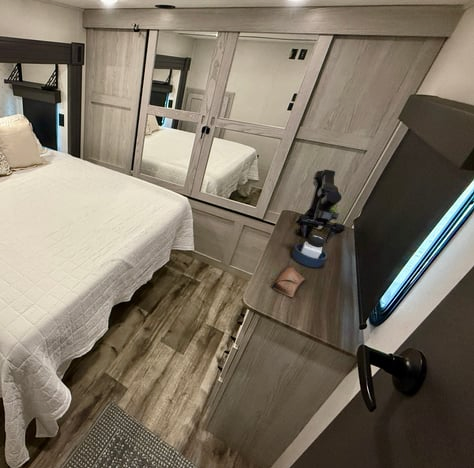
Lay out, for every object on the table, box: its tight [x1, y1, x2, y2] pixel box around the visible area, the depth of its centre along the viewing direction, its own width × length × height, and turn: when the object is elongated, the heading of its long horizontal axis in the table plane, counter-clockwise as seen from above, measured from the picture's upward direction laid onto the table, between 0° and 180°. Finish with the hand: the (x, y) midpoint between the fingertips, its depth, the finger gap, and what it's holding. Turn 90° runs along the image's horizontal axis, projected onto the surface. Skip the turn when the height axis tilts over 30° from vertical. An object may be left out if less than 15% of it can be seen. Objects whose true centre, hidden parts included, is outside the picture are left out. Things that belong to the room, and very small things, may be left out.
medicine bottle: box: [300, 235, 326, 258], centre depth 132 cm, size 7×7×12 cm
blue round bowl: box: [290, 242, 328, 268], centre depth 134 cm, size 13×13×5 cm
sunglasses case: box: [272, 265, 306, 298], centre depth 118 cm, size 18×7×7 cm
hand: (315, 240), depth 132 cm, fingers open, 9 cm apart
